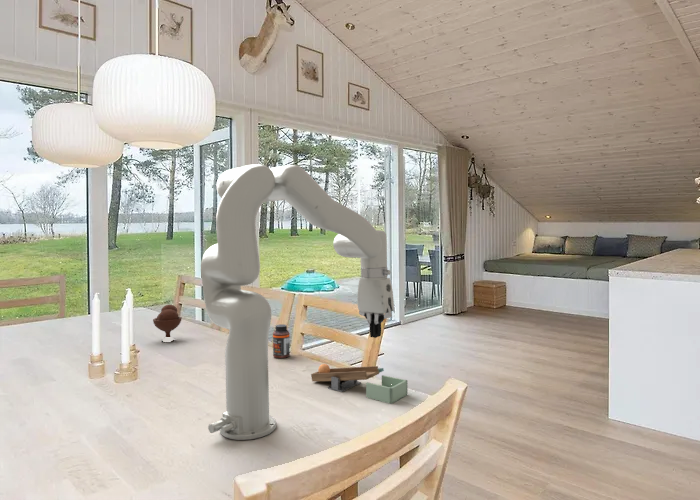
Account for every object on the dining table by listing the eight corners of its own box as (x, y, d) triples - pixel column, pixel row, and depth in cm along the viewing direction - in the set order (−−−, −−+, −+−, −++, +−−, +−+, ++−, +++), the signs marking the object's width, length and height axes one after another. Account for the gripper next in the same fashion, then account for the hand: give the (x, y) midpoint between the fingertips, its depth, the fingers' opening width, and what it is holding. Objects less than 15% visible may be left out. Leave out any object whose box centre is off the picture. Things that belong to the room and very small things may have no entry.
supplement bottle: (269, 357, 168) (269, 326, 167) (279, 353, 173) (279, 323, 172) (283, 359, 165) (282, 327, 164) (293, 355, 170) (292, 324, 170)
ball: (325, 377, 138) (324, 365, 138) (316, 376, 141) (315, 365, 141) (332, 374, 141) (331, 363, 141) (323, 373, 143) (322, 362, 143)
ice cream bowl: (152, 339, 197) (151, 304, 196) (181, 337, 202) (180, 302, 201) (154, 345, 188) (152, 308, 187) (183, 342, 192) (182, 305, 192)
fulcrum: (341, 392, 131) (341, 379, 131) (327, 388, 134) (327, 376, 134) (361, 383, 139) (360, 371, 138) (347, 380, 142) (347, 368, 141)
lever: (366, 379, 128) (364, 371, 128) (312, 381, 140) (311, 374, 140) (386, 370, 136) (384, 363, 136) (333, 373, 148) (332, 366, 148)
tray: (391, 403, 122) (391, 388, 122) (366, 397, 127) (366, 382, 127) (407, 394, 128) (407, 380, 128) (382, 389, 133) (382, 375, 133)
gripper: (403, 273, 133) (404, 337, 134) (360, 271, 142) (362, 331, 144) (389, 276, 127) (390, 342, 129) (345, 273, 136) (347, 336, 138)
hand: (375, 336), depth 136 cm, fingers closed
